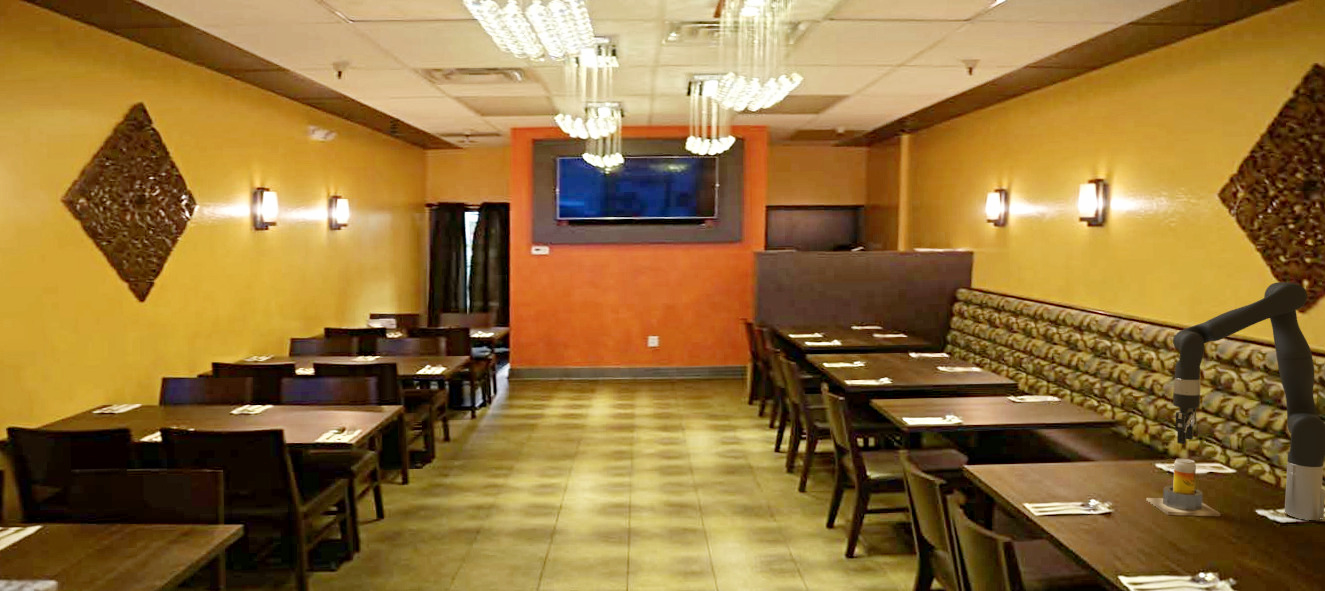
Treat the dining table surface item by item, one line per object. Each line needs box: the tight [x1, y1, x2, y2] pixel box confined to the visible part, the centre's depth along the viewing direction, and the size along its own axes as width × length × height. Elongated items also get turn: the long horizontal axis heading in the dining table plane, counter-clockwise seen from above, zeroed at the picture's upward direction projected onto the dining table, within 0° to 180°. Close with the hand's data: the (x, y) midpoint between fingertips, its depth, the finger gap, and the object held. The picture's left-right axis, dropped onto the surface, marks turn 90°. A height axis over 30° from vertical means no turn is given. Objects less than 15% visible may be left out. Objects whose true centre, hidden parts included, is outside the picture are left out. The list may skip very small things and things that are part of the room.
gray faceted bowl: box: [1162, 485, 1204, 511], centre depth 290 cm, size 11×11×5 cm
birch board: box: [1146, 497, 1221, 517], centre depth 290 cm, size 16×15×1 cm
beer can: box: [1172, 457, 1197, 494], centre depth 290 cm, size 6×6×15 cm
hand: (1185, 441), depth 289 cm, fingers open, 8 cm apart
